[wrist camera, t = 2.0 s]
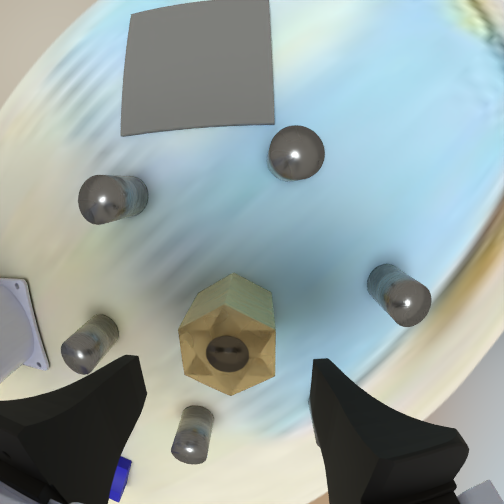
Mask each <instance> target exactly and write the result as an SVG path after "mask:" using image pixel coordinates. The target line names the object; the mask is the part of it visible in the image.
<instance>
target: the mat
mask: <svg viewBox="0 0 504 504" xmlns="http://www.w3.org/2000/svg"><path fill="white" fill-rule="evenodd" d="M239 125H274V95H273V71H272V50H271V30H270V13H269V0H209V1H200V2H193V3H185V4H179V5H173V6H167V7H162V8H157V9H152V10H147V11H143V12H139V13H135V14H131V19H130V25H129V32H128V39H127V47H126V56H125V66H124V77H123V91H122V108H121V136H123V137H124V136H131V135H138V134H145V133H153V132H161V131H170V130H180V129H191V128H203V127H219V126H239Z"/></svg>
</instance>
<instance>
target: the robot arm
mask: <svg viewBox="0 0 504 504" xmlns="http://www.w3.org/2000/svg"><path fill="white" fill-rule="evenodd" d="M18 285H19V286H18ZM22 364H23V365H26V366H30V367H34V368H37V369H41V370H48V369H49V363H48V360H47V357H46V354H45V351H44V348H43V345H42V341H41V338H40V334H39V331H38V327H37V324H36V320H35V316H34V312H33V308H32V303H31V299H30V294H29V290H28V285H27V282H26V281H25V280H24V279H13V278H0V383H1V382H2V381H4V380H5V379H6V378H7V377H8V376H9V375H10V374H11V373H13V372H14V371H15V370H16V369H17V368H18V367H19V366H21V365H22ZM146 396H147V391H146V387H145V383H144V379H143V375H142V370H141V366H140V361H139V357H138V356H134V355H124V356H122V357H120V358H118V359H116V360H114V361H113V362H111V363H109V364H107V365H106V366H104V367H102V368H100V369H99V370H97V371H95V372H94V373H92V374H90V375H88V376H86V377H84V378H82V379H80V380H78V381H76V382H74V383H72V384H70V385H68V386H65V387H63V388H60V389H58V390H55V391H52V392H49V393H45V394H41V395H38V396H34V397H29V398H24V399H17V400H8V401H0V504H108V500H109V495H110V490H111V486H112V482H113V479H114V475H115V471H116V468H117V465H118V462H119V459H120V456H121V453H122V451H123V449H124V447H125V444H126V442H127V440H128V438H129V436H130V434H131V432H132V430H133V428H134V426H135V424H136V422H137V420H138V418H139V416H140V414H141V412H142V409H143V406H144V402H145V399H146ZM310 405H311V412H312V419H313V423H314V426H315V430H316V434H317V437H318V441H319V445H320V448H321V452H322V456H323V459H324V464H325V470H326V477H327V485H328V494H329V503H330V504H504V502H503V500H502V499H501V497H500V496H499V494H498V492H497V490H496V489H495V487H494V486H493V484H492V482H491V481H490V480H486V481H485V482H483V483H481V484H479V485H477V486H475V487H473V488H470V489H468V490H466V491H465V492H463V493H462V494H460V495H459V496H457V497H456V495H455V493H454V490H455V489H456V488H457V486H456V484H455V482H454V480H453V479H454V478H455V476H456V475H457V473H458V472H459V470H460V469H461V467H462V466H463V464H464V463H465V461H466V459H467V456H468V453H469V448H468V446H467V444H466V443H465V441H464V439H463V438H462V437H461V435H460V434H459V432H458V431H457V430H456V429H455V428H449V427H444V426H439V425H434V424H431V423H427V422H424V421H421V420H418V419H415V418H412V417H410V416H407V415H405V414H403V413H401V412H398V411H396V410H394V409H392V408H390V407H388V406H387V405H385V404H383V403H382V402H380V401H378V400H377V399H375V398H374V397H372V396H371V395H369V394H368V393H367V392H365V391H364V390H363V389H361V388H360V387H359V386H357V385H356V384H355V383H354V382H353V381H352V380H350V379H349V378H348V377H347V376H346V375H345V374H344V373H343V372H342V371H341V370H340V369H339V368H338V367H337V366H336V365H335V364H334V363H333V362H332V361H331V360H329V359H328V358H326V359H313V369H312V380H311V390H310Z"/></svg>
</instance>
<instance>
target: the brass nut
mask: <svg viewBox="0 0 504 504" xmlns="http://www.w3.org/2000/svg"><path fill="white" fill-rule="evenodd" d="M178 333H179V340H180V347H181V354H182V361H183V368H184V374H185V375H186V376H189V377H191V378H193V379H195V380H197V381H199V382H201V383H203V384H205V385H207V386H209V387H212V388H214V389H216V390H218V391H220V392H223V393H225V394H227V395H230V396H232V395H234V394H236V393H239V392H241V391H243V390H246V389H248V388H250V387H252V386H255V385H257V384H259V383H261V382H263V381H266V380H268V379H270V378H272V377H274V376H275V338H276V329H275V320H274V311H273V302H272V293H271V292H270V291H268V290H266V289H264V288H262V287H260V286H258V285H256V284H254V283H252V282H251V281H249V280H247V279H245V278H243V277H241V276H239V275H237V274H236V273H232V274H230V275H228V276H227V277H225V278H223V279H222V280H220V281H218V282H216V283H215V284H213V285H211V286H209V287H208V288H206V289H204V290H203V291H201V292H199V293H198V294H197V296H196V298H195V300H194V301H193V303H192V305H191V307H190V309H189V310H188V312H187V314H186V316H185V318H184V320H183V321H182V323H181V325H180V327H179V329H178Z"/></svg>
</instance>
